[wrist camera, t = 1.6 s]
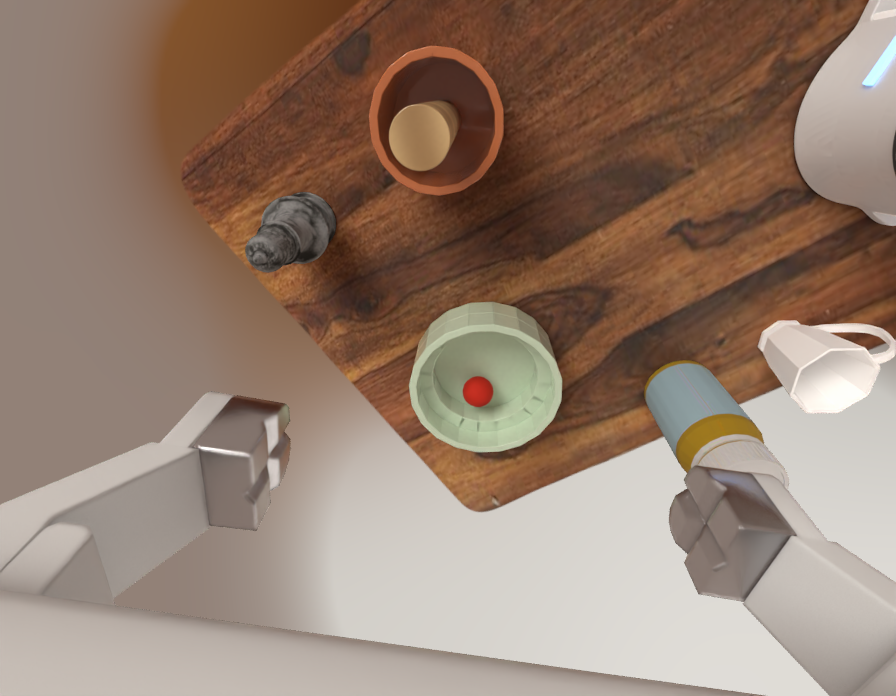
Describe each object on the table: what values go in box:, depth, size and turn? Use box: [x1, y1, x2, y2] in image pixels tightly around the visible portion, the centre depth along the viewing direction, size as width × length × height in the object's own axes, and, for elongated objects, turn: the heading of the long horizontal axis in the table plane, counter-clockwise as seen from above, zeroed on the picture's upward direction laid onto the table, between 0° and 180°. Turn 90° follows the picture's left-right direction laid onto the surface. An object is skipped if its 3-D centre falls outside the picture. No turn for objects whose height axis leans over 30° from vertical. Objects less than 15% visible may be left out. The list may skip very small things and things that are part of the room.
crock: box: [369, 45, 504, 196], centre depth 36 cm, size 9×9×8 cm
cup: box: [758, 320, 896, 413], centre depth 43 cm, size 7×10×8 cm
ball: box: [463, 376, 493, 407], centre depth 49 cm, size 3×3×3 cm
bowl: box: [409, 302, 562, 452], centre depth 48 cm, size 14×14×6 cm
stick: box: [389, 100, 461, 171], centre depth 31 cm, size 3×3×18 cm
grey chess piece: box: [245, 192, 336, 272], centre depth 39 cm, size 6×6×12 cm
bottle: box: [644, 360, 789, 489], centre depth 44 cm, size 7×7×15 cm
